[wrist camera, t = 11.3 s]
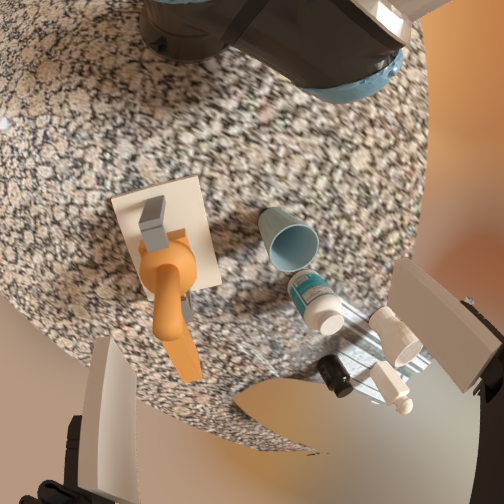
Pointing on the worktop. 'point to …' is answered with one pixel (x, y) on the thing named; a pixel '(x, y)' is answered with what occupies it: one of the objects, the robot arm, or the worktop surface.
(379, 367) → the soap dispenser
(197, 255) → the base
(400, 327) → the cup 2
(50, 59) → the worktop surface
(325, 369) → the supplement bottle
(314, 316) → the pill bottle
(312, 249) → the cup
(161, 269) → the lever handle
